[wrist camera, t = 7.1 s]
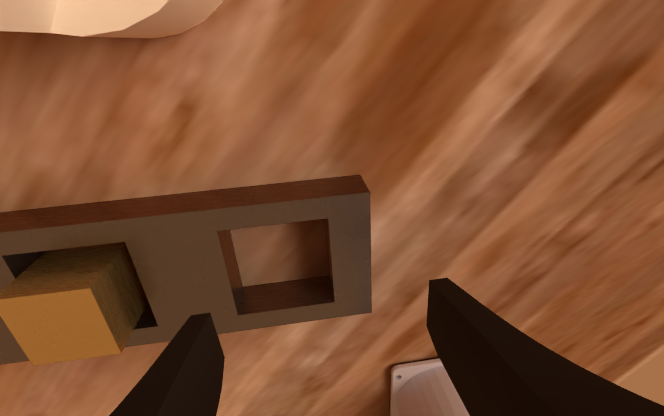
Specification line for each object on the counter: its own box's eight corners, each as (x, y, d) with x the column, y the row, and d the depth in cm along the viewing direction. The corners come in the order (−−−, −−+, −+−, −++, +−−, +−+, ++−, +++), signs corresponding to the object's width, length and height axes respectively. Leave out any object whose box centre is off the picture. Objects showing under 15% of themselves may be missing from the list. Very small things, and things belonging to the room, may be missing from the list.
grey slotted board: (360, 174, 19) (370, 192, 17) (363, 286, 23) (371, 312, 21) (-62, 219, 17) (-113, 245, 15) (13, 332, 21) (-19, 367, 19)
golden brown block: (155, 287, 21) (120, 353, 16) (87, 295, 21) (33, 365, 16) (135, 231, 19) (89, 288, 15) (60, 239, 19) (-10, 300, 14)
